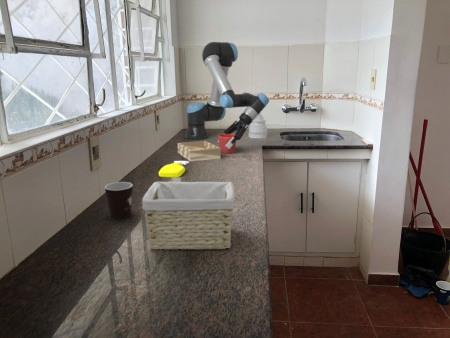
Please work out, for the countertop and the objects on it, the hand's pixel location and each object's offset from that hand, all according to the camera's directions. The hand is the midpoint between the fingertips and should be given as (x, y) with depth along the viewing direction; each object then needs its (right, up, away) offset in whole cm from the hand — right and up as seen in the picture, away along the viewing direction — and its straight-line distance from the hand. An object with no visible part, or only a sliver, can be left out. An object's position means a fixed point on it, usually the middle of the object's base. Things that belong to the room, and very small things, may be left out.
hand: (223, 145), depth 207 cm
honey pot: (+24, +9, +48) cm, 55 cm away
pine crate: (-13, -6, -6) cm, 16 cm away
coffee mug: (-32, -28, -86) cm, 96 cm away
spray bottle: (-22, -14, -34) cm, 43 cm away
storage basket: (-8, -33, -103) cm, 109 cm away
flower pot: (+3, -4, +2) cm, 5 cm away
